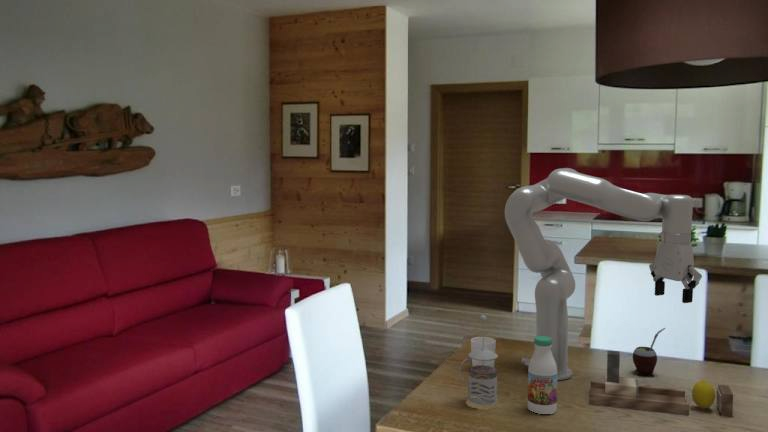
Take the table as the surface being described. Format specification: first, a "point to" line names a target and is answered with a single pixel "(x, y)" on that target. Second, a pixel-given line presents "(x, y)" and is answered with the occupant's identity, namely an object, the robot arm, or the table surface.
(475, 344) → the translucent flanged cylinder
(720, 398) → the open brown box
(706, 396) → the lemon
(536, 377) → the milk bottle
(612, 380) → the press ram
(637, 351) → the mate gourd
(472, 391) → the french press
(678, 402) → the press bed
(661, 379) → the table surface
